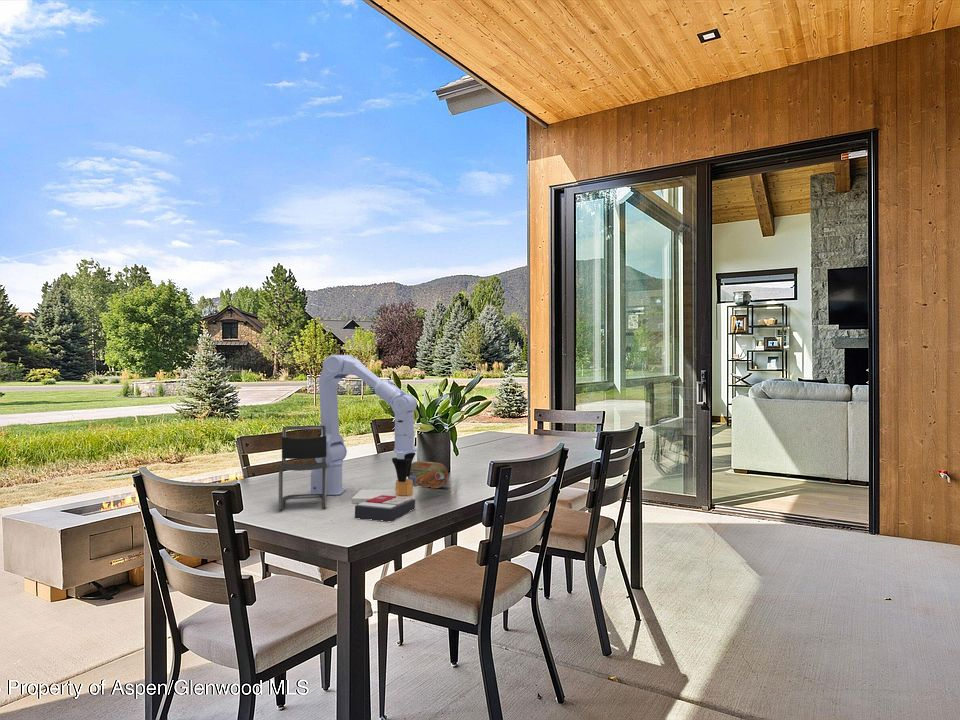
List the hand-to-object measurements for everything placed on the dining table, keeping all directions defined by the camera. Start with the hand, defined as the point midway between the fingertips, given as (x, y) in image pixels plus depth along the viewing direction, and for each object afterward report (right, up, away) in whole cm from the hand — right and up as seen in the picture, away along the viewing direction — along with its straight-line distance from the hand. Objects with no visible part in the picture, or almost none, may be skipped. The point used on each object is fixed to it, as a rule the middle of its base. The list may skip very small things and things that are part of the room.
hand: (403, 479), depth 183 cm
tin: (+6, -6, +18) cm, 20 cm away
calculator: (-3, -7, -17) cm, 18 cm away
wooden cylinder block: (0, -4, 0) cm, 4 cm away
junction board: (-5, -6, 0) cm, 8 cm away
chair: (-29, -6, -7) cm, 30 cm away
